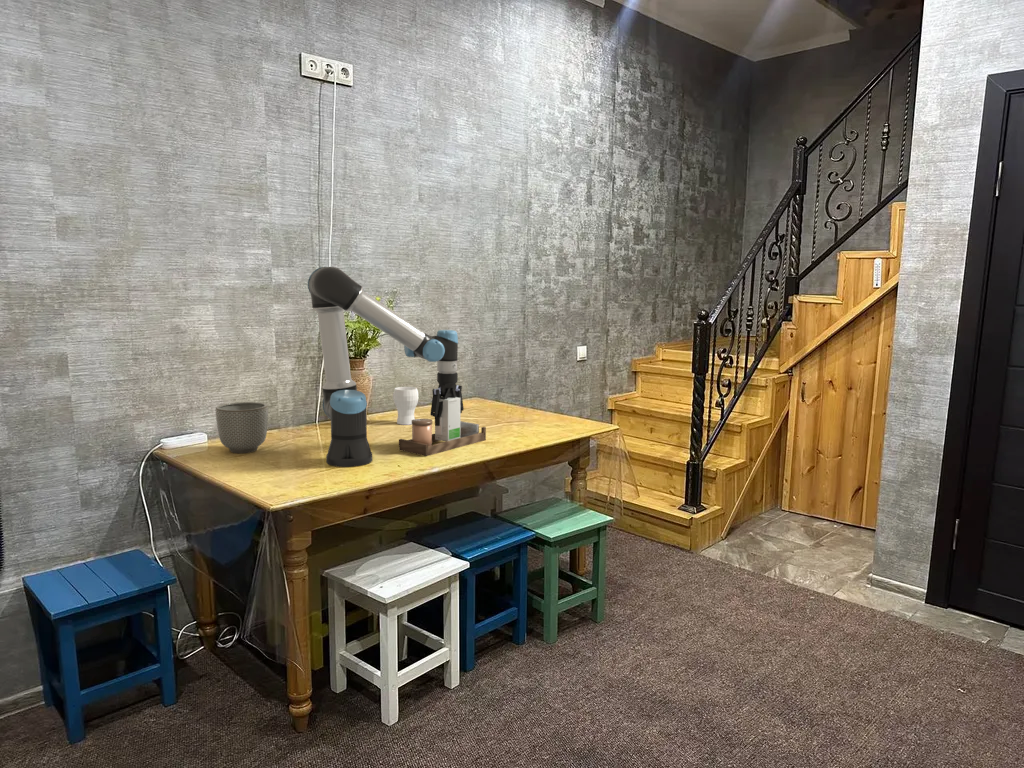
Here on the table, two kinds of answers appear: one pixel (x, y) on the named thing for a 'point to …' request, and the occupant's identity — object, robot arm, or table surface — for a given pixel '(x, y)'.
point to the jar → (422, 431)
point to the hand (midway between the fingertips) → (447, 432)
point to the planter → (242, 425)
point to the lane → (440, 444)
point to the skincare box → (450, 420)
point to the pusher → (468, 429)
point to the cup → (405, 404)
